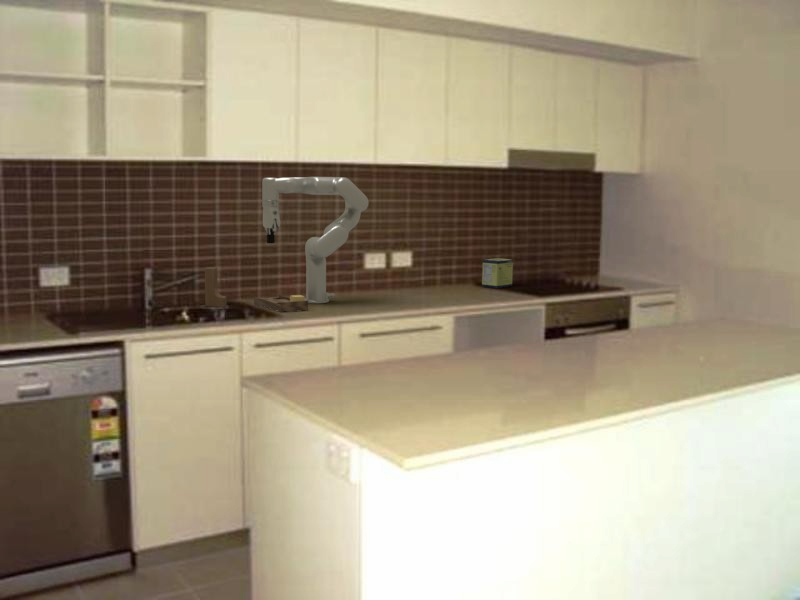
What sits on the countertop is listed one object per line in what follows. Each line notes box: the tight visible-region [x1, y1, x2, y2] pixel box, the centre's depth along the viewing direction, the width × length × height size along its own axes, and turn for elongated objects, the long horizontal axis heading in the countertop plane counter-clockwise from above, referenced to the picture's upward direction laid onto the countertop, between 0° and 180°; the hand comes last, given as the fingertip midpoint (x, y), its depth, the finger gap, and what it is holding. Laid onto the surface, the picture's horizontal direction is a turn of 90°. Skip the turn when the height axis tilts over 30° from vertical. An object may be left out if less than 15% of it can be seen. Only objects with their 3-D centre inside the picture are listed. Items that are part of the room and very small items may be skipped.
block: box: [289, 294, 306, 302], centre depth 402 cm, size 5×5×4 cm
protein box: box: [481, 257, 514, 289], centre depth 498 cm, size 10×16×16 cm
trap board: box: [253, 294, 309, 313], centre depth 411 cm, size 14×30×4 cm, turn 33°
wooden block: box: [204, 266, 228, 308], centre depth 408 cm, size 9×4×18 cm, turn 81°
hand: (270, 242), depth 416 cm, fingers closed
